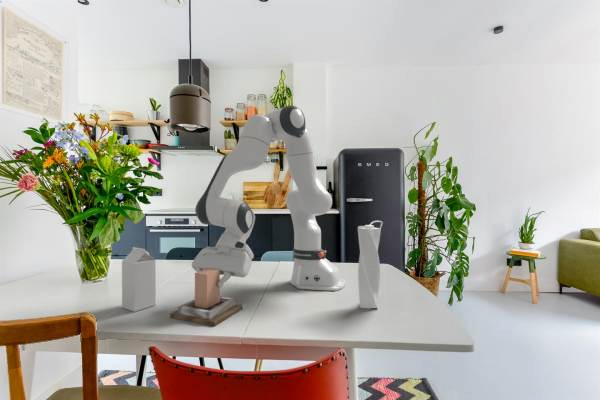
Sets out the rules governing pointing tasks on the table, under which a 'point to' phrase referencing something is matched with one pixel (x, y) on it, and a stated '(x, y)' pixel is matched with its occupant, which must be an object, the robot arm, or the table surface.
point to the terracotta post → (207, 288)
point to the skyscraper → (369, 265)
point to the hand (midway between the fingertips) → (210, 285)
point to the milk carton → (138, 280)
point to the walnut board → (207, 312)
